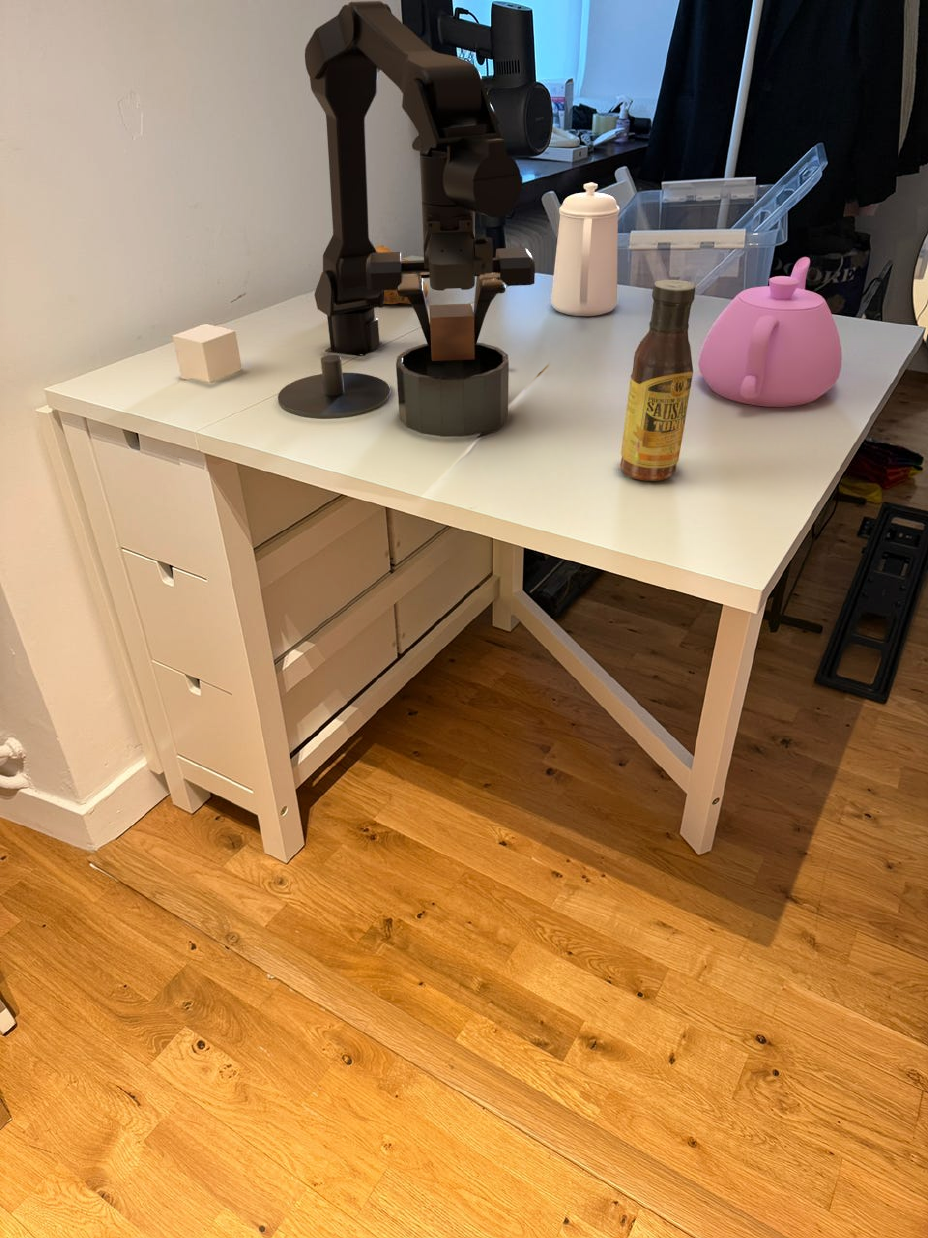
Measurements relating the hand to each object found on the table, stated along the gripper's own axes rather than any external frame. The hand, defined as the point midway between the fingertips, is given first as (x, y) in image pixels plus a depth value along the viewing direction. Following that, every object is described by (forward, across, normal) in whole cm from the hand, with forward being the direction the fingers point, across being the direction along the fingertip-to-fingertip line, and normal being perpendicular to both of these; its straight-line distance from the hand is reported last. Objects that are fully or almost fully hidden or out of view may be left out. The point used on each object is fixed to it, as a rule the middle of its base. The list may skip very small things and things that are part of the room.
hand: (451, 344), depth 103 cm
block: (+1, 0, 0) cm, 1 cm away
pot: (+9, 0, 0) cm, 9 cm away
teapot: (+9, +42, +7) cm, 44 cm away
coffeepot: (+10, +24, +44) cm, 51 cm away
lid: (+9, -15, +7) cm, 19 cm away
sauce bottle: (+9, +21, -17) cm, 28 cm away
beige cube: (+10, -33, +18) cm, 39 cm away
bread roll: (+10, -8, +52) cm, 53 cm away
